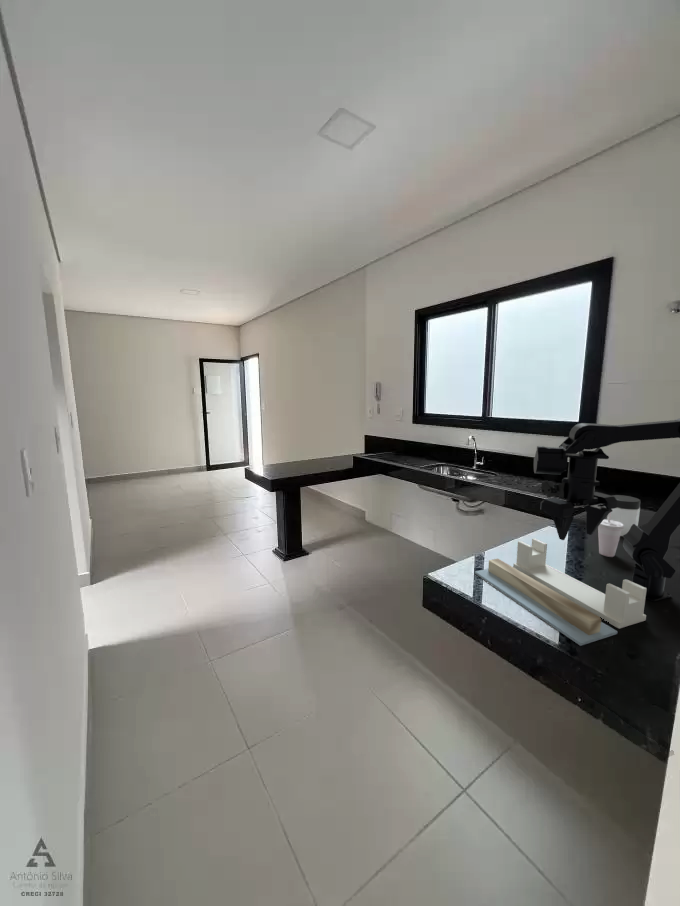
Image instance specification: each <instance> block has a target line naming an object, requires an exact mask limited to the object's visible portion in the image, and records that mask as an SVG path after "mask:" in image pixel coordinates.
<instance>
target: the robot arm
mask: <svg viewBox="0 0 680 906" xmlns="http://www.w3.org/2000/svg"><path fill="white" fill-rule="evenodd" d="M678 438H679V439H680V418H677V419H671V420H661V421H660V420H659V421H650V422H649V421H648V422H638V423H626V424H616V425H615V424H603V423H602V424H601V423H592V422H591V423H586V422H581V423H577V424H575V425H574V426H573V427H572V428H571V429H570V431H569V435H568V436H567V438H566V439H564V441H563V442H562V443H561V444H560V445H559V446H558V447H557V446H555V447H554V446H553V447H551V446H544V445H537V446H536V451H535V456H534V457H533V472H534V474H547V475H562V473H565V472H566V471H567V477H563V478H562V479H561V483H557V484H554V482H553V481H551V480H550V481H543V482H542V483H541V486H540V488H541V489H540V490H541V493H542V495H545V496H546V498H545V499H543V500H542V501H540V511H543V512H544V513H545V514H547V515H548V516H550V517H551V518H552V520H553V523H554V526H555V530H556V532H557V534H558V535H557V536H558V538H559V540H561V541H565V540H566V538H567V536H568V534H569V530H570V528H571V525H572V523H573V520H574V517H575V516H573V514H574V512H575V509H578V508H583V509H584V511H585V512H586V517H585V519H586V520H585V521H586V523H585V525H586V526H585V529H586V534H587V535H589V536H592V535H593V534H594V533H595V531H596V530H598V526H599V525H600V523H601V522H602V521H603V520H604V519H607V515H608V514H609V513H610V512H612V509H614V508H617V500H616V498H615V497H614V496H613V495H610V494H607V493H603V492H598V491H596V489H595V488H596V487H599V486H600V485H601V481H599V480H597V479H596V478H597V470H598V460H609V459H610V456H609V455H607V454H606V453H605V452H604V451H603V449H602V448H604V447H608V446H611V445H614V444H617V443H625V442H626V443H627V442H637V441H651V440H652V441H653V440H663V439H664V440H665V439H668V440H669V439H678ZM568 458H569V459H568ZM551 497H552V498H551ZM556 497H558V498H556ZM679 526H680V482H679V483H678V484H677V485H676V486H675V488H674V490H673V491H672V492H671V493H670V494H669V495H668V497H667V498H666V500H665V501H664V502H663V503H662V504H661V506H660V507H659V508H658V510H657V511H656V512H655V513H654V515H652V517H651V518H650V520H649V521H648V522H647V523H645V524H643V525H641V526H639V525H638V526H637V525H635V524H633V525H632V526H631V528H630V530H629V531H628V533H626V534H625V535H623V536H622V538H623V541H622V546H623V549H624V550H625V552H626V553H627V554H628V556H629V557H631V560H632V561H634V562H635V564H634V567H633V574H632V578H631V579H632V580H631V582H634V583H636V584H638V585H640V586H643V587H645V588H647V590H646V598H645V600H649V601H651V602H657V601H660V600H665V599H668V598H671V597H672V594H671V593H670V592H667V591H665V585H666V579H671V578H672V577H673V576H674V575H675V573H676V569H675V568H674V567H673V566H672V565H670V564H669V563H668V562H667V561H666V559H665V557H666V555H667V553H668V551H669V548H670V543H671V538H672V535H673V534H674V533H675V531H676V530H677V529H678V528H679Z"/></svg>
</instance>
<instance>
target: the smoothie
mask: <svg viewBox="0 0 680 906" xmlns="http://www.w3.org/2000/svg"><path fill="white" fill-rule="evenodd" d="M610 518H611V512H610V513H609V515H608V520H607V518H605V519H604V520H603V521H602V522H601V523H600V525H599V526H598V527H597V531H598V533H597V534H598V535H597V536H598V553H599V555H601V556H604V557H609V558H613V557H615V555H616V552H617V549H618V545H619V542H620V539H621V536H620V535H621V531H622V529H624V525H623V524H622V523H620V522H617V521H613V520H610Z"/></svg>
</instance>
